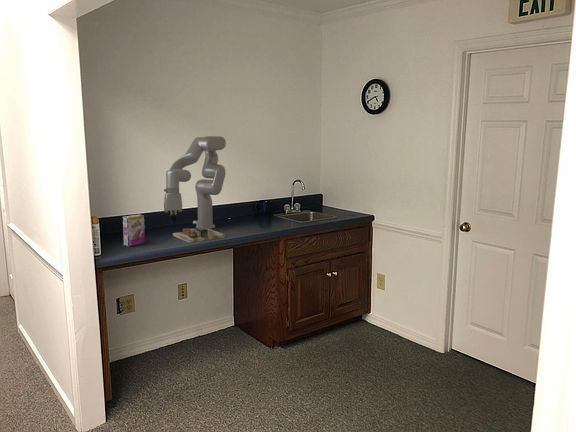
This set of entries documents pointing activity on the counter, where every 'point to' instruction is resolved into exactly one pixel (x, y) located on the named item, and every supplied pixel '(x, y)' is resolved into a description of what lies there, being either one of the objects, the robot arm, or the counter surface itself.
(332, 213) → the counter surface
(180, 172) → the robot arm
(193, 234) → the lever
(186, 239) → the board
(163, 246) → the counter surface
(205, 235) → the keeper
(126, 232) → the candy bar box
